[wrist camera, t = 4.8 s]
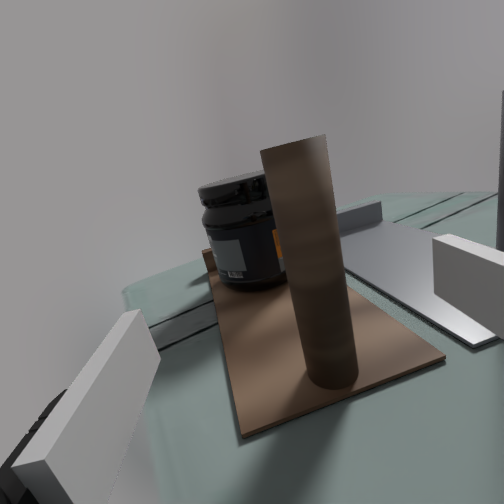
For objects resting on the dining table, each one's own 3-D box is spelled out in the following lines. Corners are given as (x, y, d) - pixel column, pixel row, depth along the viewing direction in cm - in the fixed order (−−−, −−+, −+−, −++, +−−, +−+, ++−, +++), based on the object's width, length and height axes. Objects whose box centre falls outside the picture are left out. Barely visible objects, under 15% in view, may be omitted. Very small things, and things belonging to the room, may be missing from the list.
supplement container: (319, 258, 36) (302, 161, 32) (275, 301, 28) (247, 180, 24) (253, 256, 42) (233, 175, 38) (204, 291, 35) (172, 194, 31)
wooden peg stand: (445, 359, 17) (440, 105, 13) (242, 438, 16) (154, 176, 11) (289, 246, 44) (270, 150, 39) (208, 271, 42) (177, 173, 37)
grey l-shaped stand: (633, 285, 19) (685, 44, 15) (473, 348, 18) (477, 96, 13) (376, 220, 46) (367, 126, 41) (301, 242, 44) (283, 147, 39)
